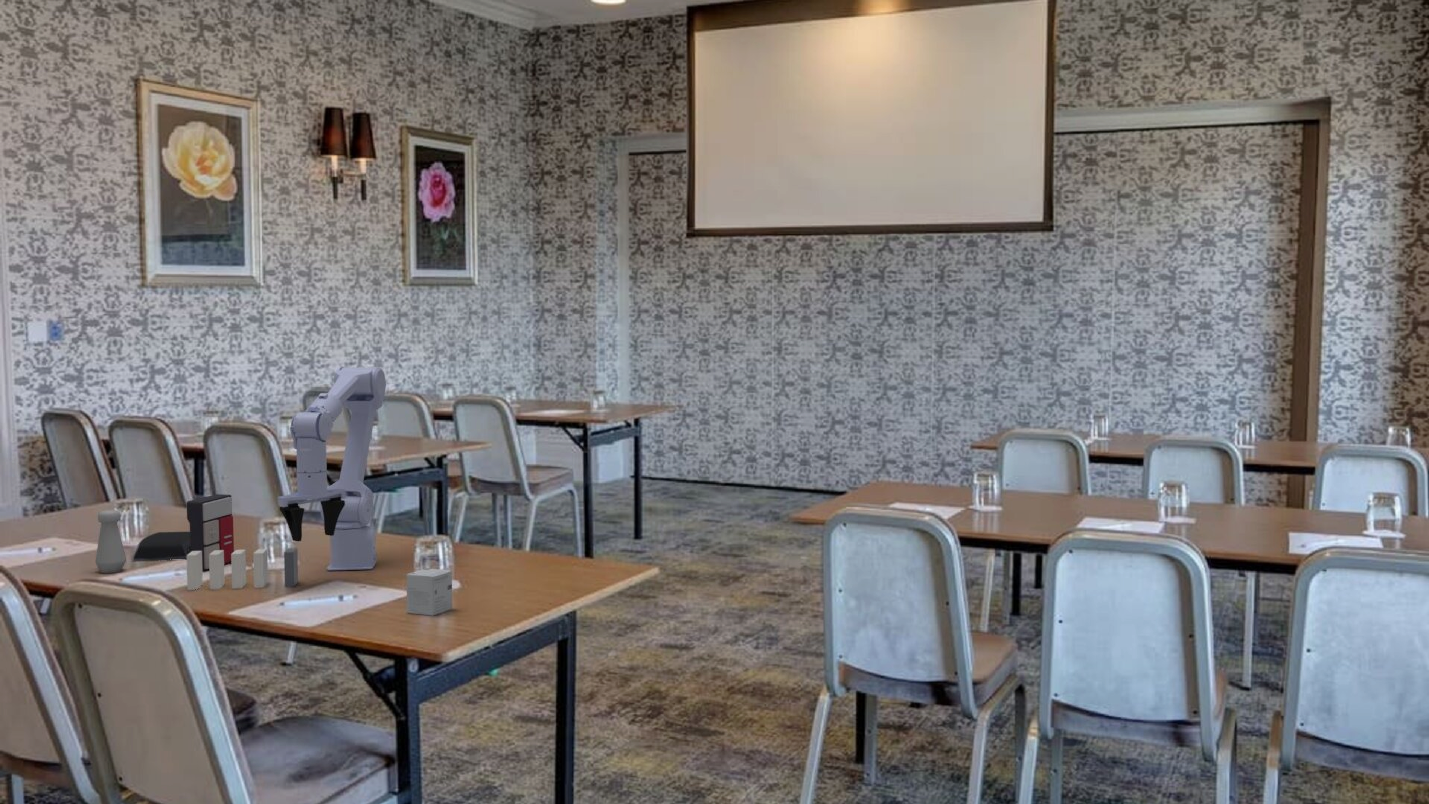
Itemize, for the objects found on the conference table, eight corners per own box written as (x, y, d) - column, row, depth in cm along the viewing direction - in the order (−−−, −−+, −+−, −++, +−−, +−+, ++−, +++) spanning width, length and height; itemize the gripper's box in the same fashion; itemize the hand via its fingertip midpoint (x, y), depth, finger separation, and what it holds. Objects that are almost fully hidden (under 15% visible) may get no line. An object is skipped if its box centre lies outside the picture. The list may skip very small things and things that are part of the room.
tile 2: (268, 582, 247) (267, 548, 246) (263, 587, 242) (262, 553, 242) (258, 583, 246) (258, 549, 246) (254, 588, 242) (253, 553, 242)
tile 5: (202, 584, 245) (201, 550, 244) (197, 589, 240) (196, 555, 240) (193, 585, 244) (192, 551, 244) (187, 590, 240) (186, 555, 240)
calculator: (206, 572, 256) (204, 502, 255) (188, 571, 257) (186, 501, 256) (236, 561, 267) (234, 494, 266) (219, 560, 268) (217, 493, 267)
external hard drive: (127, 564, 267) (127, 545, 267) (152, 547, 286) (152, 530, 286) (190, 562, 269) (190, 543, 269) (210, 545, 288) (210, 528, 288)
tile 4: (224, 584, 245) (223, 550, 245) (219, 589, 241) (218, 554, 240) (215, 584, 245) (214, 550, 245) (209, 589, 241) (208, 554, 240)
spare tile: (298, 581, 248) (297, 548, 247) (294, 586, 243) (293, 552, 243) (289, 582, 247) (288, 548, 247) (284, 586, 243) (284, 552, 243)
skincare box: (433, 616, 220) (433, 576, 220) (406, 613, 222) (405, 573, 222) (453, 609, 226) (452, 570, 225) (426, 605, 228) (425, 567, 228)
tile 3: (246, 583, 246) (245, 549, 246) (241, 588, 242) (240, 553, 241) (237, 583, 246) (236, 549, 245) (232, 588, 241) (231, 554, 241)
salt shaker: (132, 569, 258) (130, 509, 257) (109, 575, 253) (106, 513, 252) (113, 567, 261) (111, 507, 260) (89, 572, 256) (87, 511, 255)
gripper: (330, 466, 253) (332, 530, 254) (268, 473, 241) (269, 540, 242) (351, 468, 248) (352, 534, 249) (288, 476, 237) (290, 545, 238)
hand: (313, 537), depth 245 cm, fingers open, 7 cm apart
